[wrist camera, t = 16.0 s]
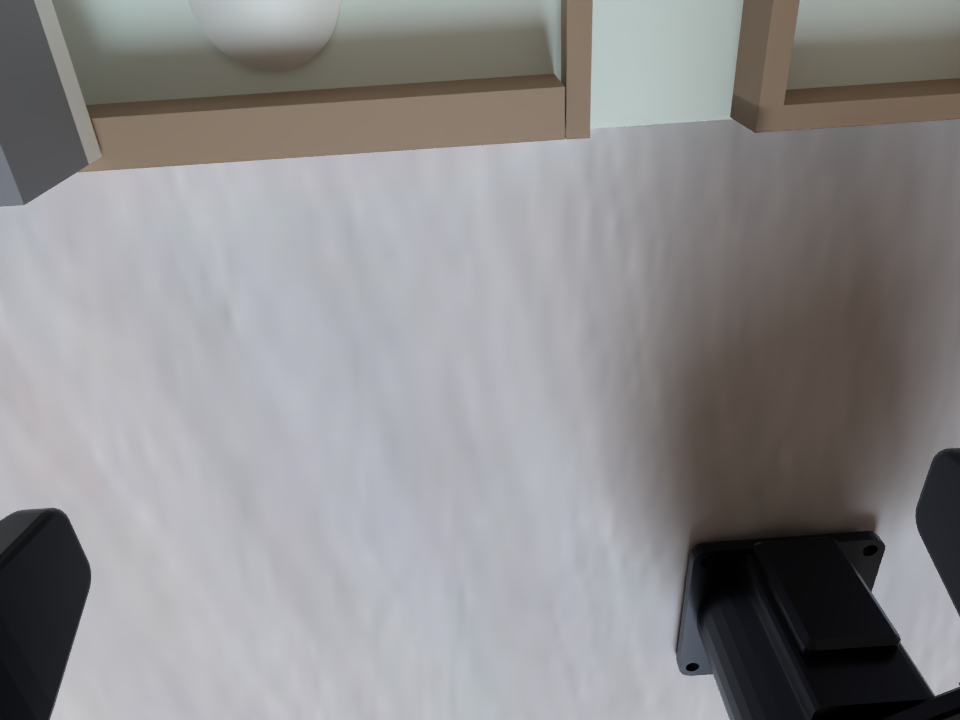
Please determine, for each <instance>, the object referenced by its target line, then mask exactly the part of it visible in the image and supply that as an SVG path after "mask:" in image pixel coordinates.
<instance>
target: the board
mask: <svg viewBox="0 0 960 720" xmlns="http://www.w3.org/2000/svg"><path fill="white" fill-rule="evenodd" d="M52 3H53V6H54V9H55V12H56V15H57V18H58V21H59V24H60V28H61V31H62V34H63V37H64V40H65V43H66V46H67V49H68V52H69V55H70V58H71V62H72V65H73V68H74V71H75V74H76V77H77V80H78V83H79V86H80V89H81V93H82V96H83V99H84V102H85V105H86V108H87V111H88V114H89V117H90V120H91V123H92V127H93V130H94V133H95V136H96V139H97V142H98V145H99V148H100V151H101V154H102V157H100V158H99V159H97V160H96V161H94V162H92V163H91V164H89V165H88V166H86V167H84V168H83V169H81V170H80V171H78V172H90V171H105V170H120V169H134V168H149V167H164V166H179V165H194V164H208V163H223V162H238V161H253V160H267V159H282V158H297V157H312V156H326V155H341V154H356V153H371V152H385V151H400V150H415V149H430V148H444V147H459V146H474V145H489V144H503V143H518V142H533V141H548V140H562V139H565V138H566V139H581V138H590V129H596V128H611V127H625V126H640V125H655V124H670V123H684V122H699V121H714V120H729V119H734V120H736V121H737V122H739V123H740V124H742V125H744V126H745V127H747V128H749V129H750V130H752V131H753V132H755V133H758V132H773V131H788V130H803V129H817V128H832V127H847V126H862V125H876V124H891V123H906V122H920V121H935V120H950V119H960V0H52Z"/></svg>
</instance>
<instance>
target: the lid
mask: <svg viewBox="0 0 960 720" xmlns="http://www.w3.org/2000/svg"><path fill="white" fill-rule="evenodd" d="M100 157H102V154H101V151H100V148H99V145H98V142H97V139H96V136H95V133H94V130H93V127H92V123H91V120H90V117H89V114H88V111H87V108H86V105H85V102H84V99H83V96H82V93H81V89H80V86H79V83H78V80H77V77H76V74H75V71H74V68H73V65H72V62H71V58H70V55H69V52H68V49H67V46H66V43H65V40H64V37H63V34H62V31H61V28H60V24H59V21H58V18H57V15H56V12H55V9H54V6H53V3H52V0H0V207H1V206H15V205H25V204H26V203H28V202H30V201H31V200H33V199H35V198H36V197H38V196H39V195H41V194H43V193H44V192H46V191H47V190H49V189H51V188H52V187H54V186H55V185H57V184H59V183H60V182H62V181H63V180H65V179H67V178H68V177H70V176H71V175H73V174H75V173H76V172H78V171H80V170H81V169H83V168H84V167H86V166H88V165H89V164H91V163H92V162H94V161H96V160H97V159H99V158H100Z"/></svg>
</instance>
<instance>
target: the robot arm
mask: <svg viewBox="0 0 960 720" xmlns="http://www.w3.org/2000/svg"><path fill="white" fill-rule="evenodd" d="M916 524H917V528H918V531H919V534H920V536H921V538H922V540H923V542H924V544H925V546H926V548H927V550H928V552H929V554H930V557H931V559H932V561H933V563H934V565H935V567H936V569H937V571H938V573H939V575H940V577H941V579H942V581H943V583H944V585H945V587H946V589H947V591H948V594H949V596H950V598H951V600H952V602H953V604H954V606H955V608H956V610H957V612H958V614H959V616H960V448H949V449H944V450H942V451H940V452H938V453H937V454H936V455H935V457H934V458H933V460H932V463H931V466H930V468H929V471H928V474H927V477H926V480H925V483H924V486H923V489H922V492H921V495H920V498H919V501H918V504H917V507H916ZM884 551H885V545H884V543H883V542H882V540H881V539H880V538H879V536H878V535H877V534H876V533H874V532H871V531H863V532H849V533H835V534H821V535H807V536H793V537H779V538H765V539H751V540H737V541H723V542H709V543H702V544H699V545H697V546H695V547H694V548H693V549H692V550H691V552H690V555H689V563H688V571H687V579H686V587H685V595H684V603H683V611H682V618H681V626H680V634H679V642H678V650H677V658H676V660H677V664H678V667H679V670H680V672H681V673H682V674H684V675H690V676H693V675H706V674H713V675H714V678H715V680H716V683H717V686H718V689H719V691H720V694H721V697H722V700H723V702H724V705H725V708H726V711H727V713H728V716H729V719H730V720H960V687H958V688H955V689H953V690H950V691H947V692H945V693H942V694H940V695H937V696H935V695H934V693H933V692H932V690H931V689H930V687H929V686H928V684H927V683H926V681H925V680H924V678H923V676H922V675H921V673H920V672H919V670H918V669H917V667H916V666H915V664H914V663H913V661H912V659H911V658H910V656H909V655H908V653H907V652H906V650H905V649H904V647H903V646H902V644H901V643H900V640H901V639H900V636H899V634H898V633H897V631H896V630H895V628H894V626H893V625H892V623H891V622H890V620H889V619H888V617H887V616H886V614H885V613H884V611H883V610H882V608H881V607H880V605H879V604H878V602H877V600H876V599H875V597H874V596H873V594H872V593H871V592H872V588H873V585H874V582H875V579H876V576H877V573H878V569H879V566H880V563H881V560H882V557H883V554H884ZM705 557H708V558H705ZM704 558H705V559H704ZM90 583H91V570H90V565H89V562H88V560H87V557H86V555H85V553H84V551H83V549H82V547H81V544H80V542H79V540H78V538H77V536H76V533H75V531H74V529H73V527H72V525H71V522H70V520H69V518H68V517H67V515H66V514H65V513H64V512H63V511H61V510H60V509H56V508H44V509H29V510H20V511H17V512H14V513H12V514H10V515H9V516H7V517H5V518H4V519H2V520H1V521H0V720H50V717H51V714H52V711H53V708H54V705H55V702H56V698H57V695H58V692H59V688H60V685H61V682H62V679H63V675H64V672H65V669H66V665H67V662H68V659H69V655H70V652H71V649H72V645H73V642H74V639H75V636H76V632H77V629H78V626H79V622H80V619H81V616H82V612H83V609H84V606H85V602H86V599H87V596H88V593H89V589H90ZM959 685H960V683H959Z"/></svg>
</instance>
